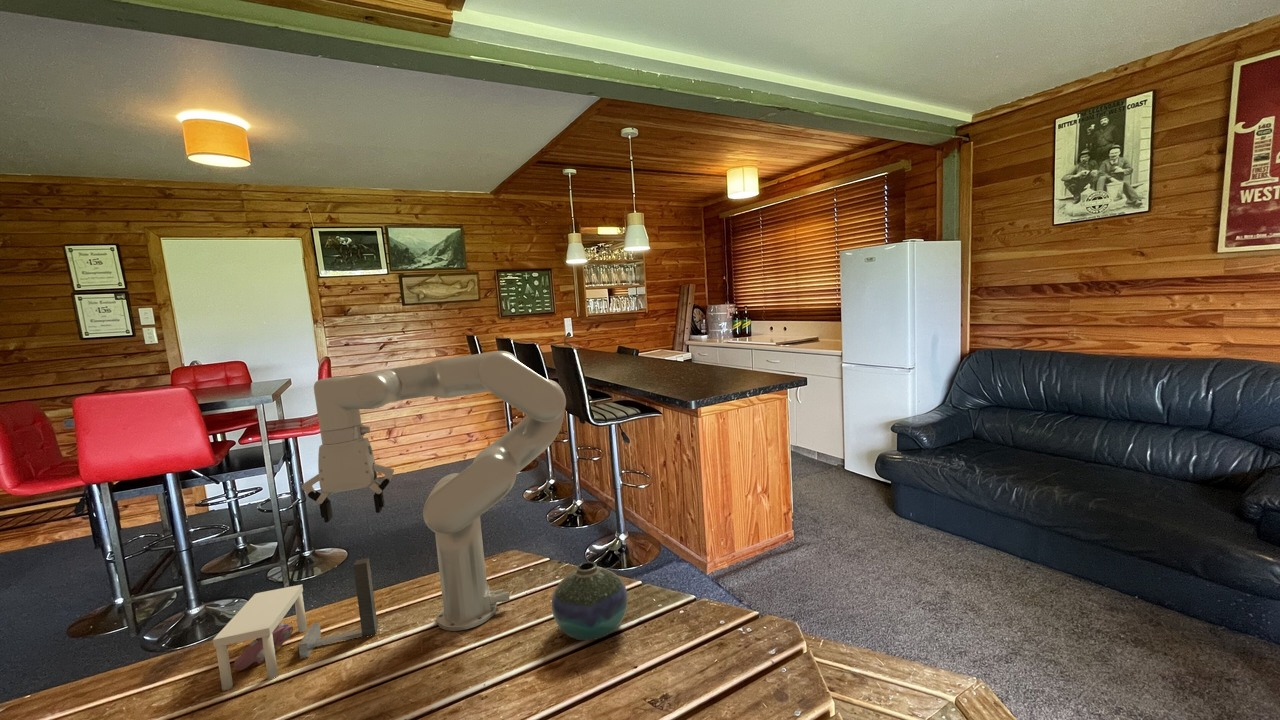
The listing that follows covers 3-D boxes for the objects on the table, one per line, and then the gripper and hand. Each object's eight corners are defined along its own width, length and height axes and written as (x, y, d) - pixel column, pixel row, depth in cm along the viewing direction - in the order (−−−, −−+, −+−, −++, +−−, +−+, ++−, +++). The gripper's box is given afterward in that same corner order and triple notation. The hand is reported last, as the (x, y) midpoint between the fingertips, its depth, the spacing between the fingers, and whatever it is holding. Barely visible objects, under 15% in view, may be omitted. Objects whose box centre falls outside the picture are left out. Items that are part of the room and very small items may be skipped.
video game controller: (248, 680, 101) (257, 650, 100) (229, 669, 102) (238, 639, 101) (291, 649, 111) (300, 621, 110) (274, 639, 111) (282, 611, 110)
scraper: (380, 622, 115) (371, 552, 114) (372, 642, 107) (363, 568, 106) (313, 637, 112) (303, 565, 110) (300, 659, 104) (289, 582, 103)
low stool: (308, 627, 116) (302, 584, 115) (276, 678, 98) (269, 627, 98) (261, 637, 113) (255, 593, 113) (220, 691, 96) (212, 639, 95)
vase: (595, 663, 95) (588, 593, 94) (538, 637, 104) (532, 574, 103) (645, 620, 107) (639, 558, 106) (590, 601, 116) (585, 544, 115)
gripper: (390, 426, 114) (401, 502, 115) (301, 439, 109) (314, 518, 110) (384, 432, 107) (395, 513, 108) (288, 446, 102) (301, 530, 103)
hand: (354, 515), depth 109 cm, fingers open, 9 cm apart
